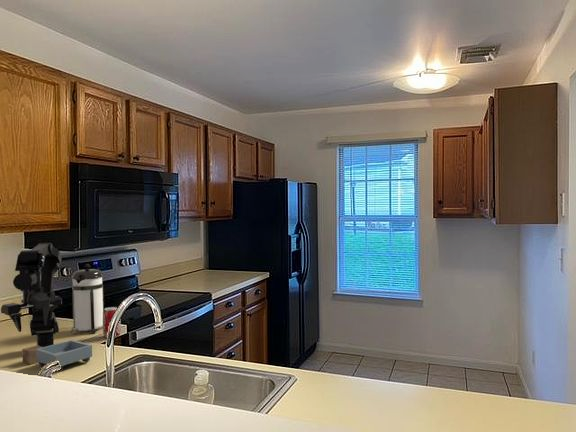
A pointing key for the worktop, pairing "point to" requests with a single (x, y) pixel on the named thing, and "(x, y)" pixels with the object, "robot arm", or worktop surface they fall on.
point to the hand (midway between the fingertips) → (33, 328)
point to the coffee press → (87, 299)
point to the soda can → (106, 320)
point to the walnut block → (30, 355)
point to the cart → (64, 353)
